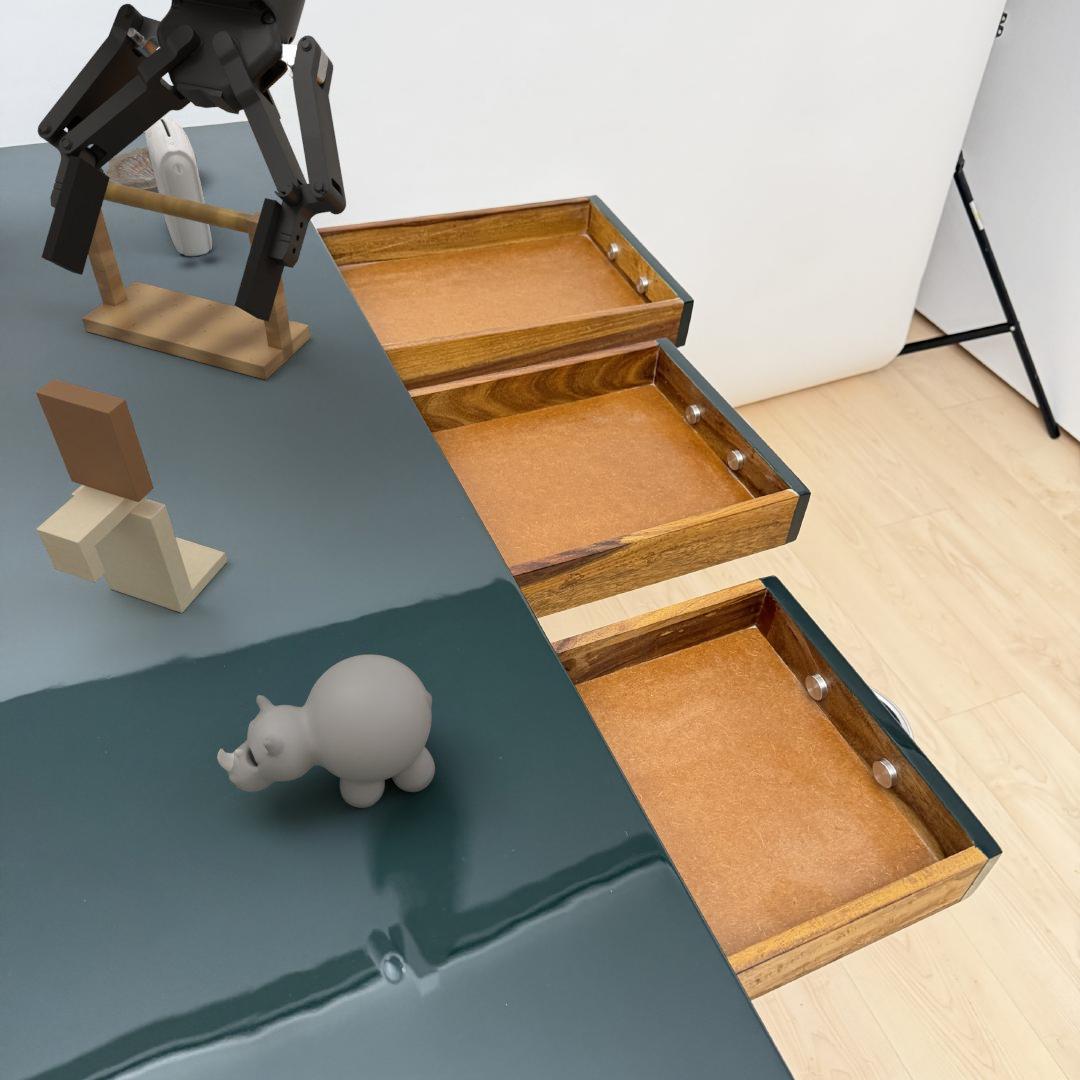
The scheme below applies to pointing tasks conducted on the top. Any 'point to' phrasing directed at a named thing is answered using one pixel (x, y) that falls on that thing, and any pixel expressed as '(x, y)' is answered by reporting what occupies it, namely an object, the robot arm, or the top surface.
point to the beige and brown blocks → (116, 506)
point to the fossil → (133, 170)
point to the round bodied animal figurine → (343, 733)
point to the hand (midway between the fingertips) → (154, 290)
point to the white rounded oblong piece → (178, 183)
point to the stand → (187, 301)
